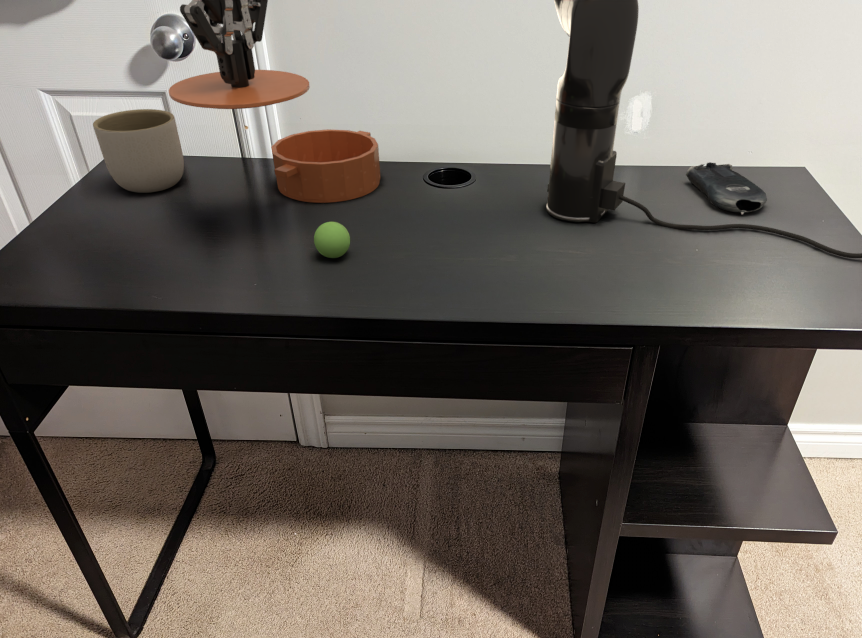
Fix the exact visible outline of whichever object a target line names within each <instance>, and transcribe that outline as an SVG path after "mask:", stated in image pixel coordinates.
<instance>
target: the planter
mask: <svg viewBox="0 0 862 638" xmlns="http://www.w3.org/2000/svg"><path fill="white" fill-rule="evenodd" d="M92 127H93V131H94V133H95V137H96V139H97V140H96V141H97V143H98V146H99V149H100V152H101V155H102V158H103V161H104V163H105V167H106V169H107V170H108V173H109V175H110V176H111V178H112V179H113V181H114V182H115V183H116V184H117V185H118V186H119V187H121V188H122V189H124V190H125V191H129V192H132V193H140V194H148V193H156V192H162V191H165V190H167V189H170V188H172V187H174V186H175V185H177V184H178V183H179V182H180V180H181V179H182V177H183V175H184V170H185V161H184V154H183V149H182V143H181V139H180V135H179V131H178V127H177V121H176V118H175V115H174V114H173V113H171V112H170V111H167V110H163V109H153V108H141V109H139V108H137V109H128V110H121V111H116V112H111V113H108V114H106V115H102V116H100V117H98V118H97V119H95V120H94V121H93V123H92Z"/></svg>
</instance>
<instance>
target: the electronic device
mask: <svg viewBox="0 0 862 638" xmlns="http://www.w3.org/2000/svg"><path fill="white" fill-rule="evenodd" d="M733 169H734V168H733V165H732V164H730V163H726V164H724V163H723V164H717V163H716V162H707V163H706V165H705V163H701V164H699V165H691V166H690V167H689V168H688V169H687V171H686V173H685V176H686V177H687V179H688V181H689V182H690V183H691V184H693V185H694V187H696V188H697V189H699V191H700V192H701V193H703V194H704V195H705V196H707V199H708V200H709V202H710V203H711V205H713V206H714V207H717V208H719V209H721V210H723V211H726V212H731V213H732V212H733V213H740V214H741V215H744V214H745V213H751V212H756V211H758V210H760V209H761V208H763V207H764V206H765V204H766V203H767V200H768V198H767V193H766V192H765V191H764V190H763V189H762V188H760V186H758V185H757V184H756V183H754V182H753V181H751V180H749V179H748V178H747V177H745V176H743V174H741V173H739V172H737V171H735V170H733Z"/></svg>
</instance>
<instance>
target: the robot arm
mask: <svg viewBox="0 0 862 638" xmlns="http://www.w3.org/2000/svg"><path fill="white" fill-rule="evenodd" d="M268 2H269V0H191V1H190V2H189V3H188V4H185V3H182V4H181V5H180V7H179V12H180V13H181V15H182V17H183V18H184V20H185V22H186V24H187V25H188V27H189V29H190V30H191V32H192V33H193V35H194V37H195V38H196V40H197V42H198V44H199V45H200V47H201V49H202V50H204V51H209V52H213V53H214V54H215V55H216V60H217V64H218V72H220V76H221V78H222V79H223V80H224V82H225V83H227V84H233V85H234V84H237V83H239V79H238V73H237V67H236V62H235V56H234V54H232V52H233V47H232V40H240V41H242V45H243V51H244V57H245V63H246V69H247V75H248V80H251V79H254V77H255V76H254V74H255V70H256V66H255V62H254V61H255V60H254V54H253V49H254V47H255V44H256V43H257V42H258V43H260V42H262V40H263V36H264V35H263V34H264V29H265V24H266V23H265V21H266V16H267V9H268V4H269V3H268ZM553 2H554V5H555V10H556V14H557V18H558V20H559V23H560V26H561V27H562V29H563V31H564V33H565V34H566V35H567V36H568V37H569V38H568V39H569V40H568V47H567V56H566V63H565V69H564V72H563V74H562V75H560V77H559V78H558V80H557V85H556V98H555V109H554V122H553V132H552V145H551V157H550V165H549V166H550V168H549V179H548V180H549V181H548V184H547V191H546V192H547V202H546V206H545V207H546V208H545V209H546V212H547V213H548V214H549V215H550V216H552V217H554V218H555V219H557V220H561V221H564V222H565V221H566V222H571V223H573V222H574V223H593V224H596V223H597V222H598V221H600V220H601V219H602V218H603V216H605V214H606V213H608V211H615V210H617V208H618V207H619V206H621V204H622V203H623V202H625V203H627V204H629V205H631V206H633V207H636V208H637V209H639V210H641V211H642V212H643V213H644V214H645V216H647V219H648V220H649V221H650V222H652V223H654V224H656V225H658V226H661V227H665V228H670V229H675V230H689V231H690V230H693V231H694V230H695V231H720V230H721V231H722V230H728V229H729V230H732V229H743V230H754V231H761V232H766V233H769V234H770V233H771V234H774V235H775V234H776V235H779V236H783V237H786V238H790V239H794V240H796V241H801V242H803V243H806V244H808V245H811V246H812V247H815V248H818V249H819V250H822V251H824V252H827V253H829V254H832V255H834V256H838V257H842V258H848V259H862V253H861V252H860V253H859V252H857V253H856V252H855V253H854V252H846V251H842V250H838V249H835V248H831V247H830V246H827V245H824V244H822V243H821V242H819V241H816V240H813V239H811V238H809V237H806V236H804V235H800V234H797V233H793V232H790V231H786V230H783V229H778V228H774V227H770V226H765V225H757V224H747V223H729V224H728V223H726V224H716V225H701V224H699V225H698V224H677V223H671V222H666V221H663V220H660V219H658V218H656V217H654V216H653V214H652V213H651V211H650V210H649V209H648V208H647V207H646V206H645V205H643V204H642V203H640V202H638V201H636V200H634V199H632V198H629V197H626V196H625V195H624V194H625V187H626V182H622V181H617V180H614V175H615V168H616V161H617V154H618V153H617V151H616V150H614V148H615V147H614V146H615V140H616V134H617V133H616V132H617V125H618V118H619V111H620V103H621V97H622V91H623V89H624V88H625V85H626V83H627V81H628V77H629V74H630V72H631V71H630V69H631V65H632V58H633V53H634V48H635V43H636V37H637V31H638V24H639V0H553ZM221 25H222V26H221Z"/></svg>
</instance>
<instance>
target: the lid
mask: <svg viewBox="0 0 862 638" xmlns="http://www.w3.org/2000/svg"><path fill="white" fill-rule="evenodd" d="M232 47H233V52H232V54H234V56H235V62H236V67H237V73H238V79H239V83H237V84H234V85H233V84H227V83H225V82H224V80H223V79H222V78H221V76H220V71H216V72H207V73H204V74H199V75H195V76H191V77H187V78H184V79H182V80H179V81H177V82H175V83H174V84H172V85H171V86H170V87H169V88H168V96H169V97H170V99H171V100H173V101H174V102H176V103H178V104H181V105H185V106H189V107H195V108H202V109H203V108H204V109H214V110H241V109H242V110H243V109H254V108H261V107H267V106H271V105H276V104H280V103H281V104H282V103H285V102H288V101H292V100H294V99H297V98H299V97H301V96H303V95H305V94H306V93H307V92H308V91H309V90H310V87H311V86H310V81H309V80H308V79H307V78H306V77H304V76H303V75H301V74H297V73H294V72H290V71H289V72H288V71H282V70H272V69H255V74H254V76H255V77H254V79H251V80H248V75H247V69H246V63H245V57H244V51H243V45H242V41H240V40H233V39H232Z"/></svg>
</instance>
